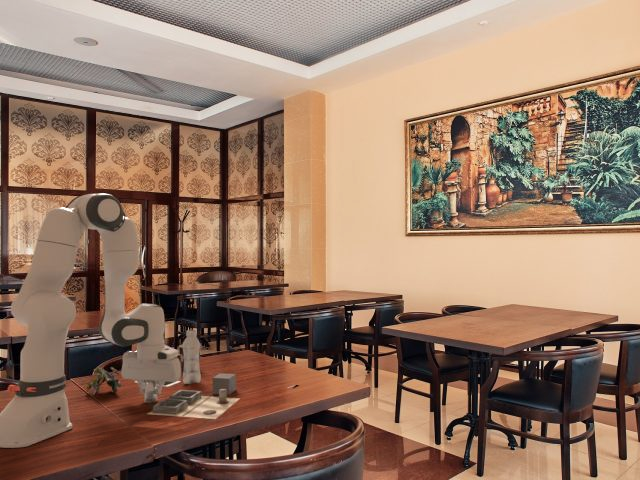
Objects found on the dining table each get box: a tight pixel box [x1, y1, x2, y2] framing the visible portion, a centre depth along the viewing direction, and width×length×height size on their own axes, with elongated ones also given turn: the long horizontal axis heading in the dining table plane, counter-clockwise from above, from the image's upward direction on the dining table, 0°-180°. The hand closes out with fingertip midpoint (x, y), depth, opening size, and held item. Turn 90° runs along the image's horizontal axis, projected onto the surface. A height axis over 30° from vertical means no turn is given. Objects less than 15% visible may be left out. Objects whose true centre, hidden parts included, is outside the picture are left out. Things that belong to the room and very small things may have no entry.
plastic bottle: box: [181, 329, 202, 385], centre depth 191 cm, size 6×7×20 cm
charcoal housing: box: [212, 372, 237, 396], centre depth 175 cm, size 6×6×7 cm
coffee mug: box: [178, 344, 201, 372], centre depth 211 cm, size 12×9×10 cm
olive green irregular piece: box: [80, 366, 122, 398], centre depth 178 cm, size 11×11×12 cm
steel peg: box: [144, 380, 158, 404], centre depth 170 cm, size 4×4×7 cm
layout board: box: [147, 389, 241, 420], centre depth 160 cm, size 20×22×6 cm
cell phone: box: [134, 380, 181, 388], centre depth 194 cm, size 8×16×1 cm, turn 68°
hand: (150, 393), depth 170 cm, fingers closed on steel peg, 4 cm apart
